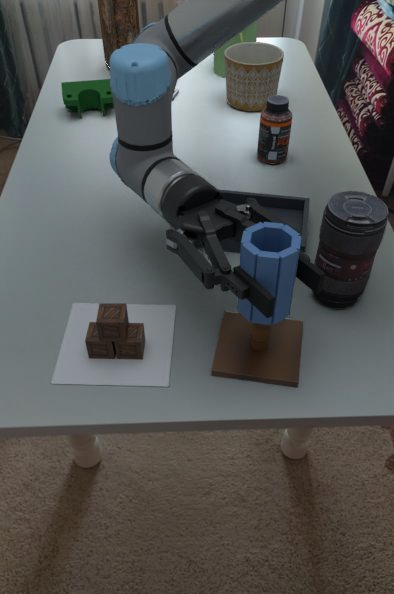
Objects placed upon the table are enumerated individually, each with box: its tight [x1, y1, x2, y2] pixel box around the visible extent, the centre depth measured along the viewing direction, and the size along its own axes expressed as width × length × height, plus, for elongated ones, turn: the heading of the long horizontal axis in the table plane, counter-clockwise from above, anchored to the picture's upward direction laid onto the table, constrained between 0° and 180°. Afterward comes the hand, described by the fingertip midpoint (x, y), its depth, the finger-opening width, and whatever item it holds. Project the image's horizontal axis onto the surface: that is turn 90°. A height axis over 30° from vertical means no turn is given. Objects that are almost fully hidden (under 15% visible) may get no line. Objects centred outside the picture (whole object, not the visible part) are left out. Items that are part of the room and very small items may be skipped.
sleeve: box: [236, 222, 301, 325], centre depth 64 cm, size 6×6×10 cm
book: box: [96, 0, 141, 73], centre depth 125 cm, size 16×6×25 cm, turn 21°
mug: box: [212, 20, 259, 79], centre depth 131 cm, size 13×10×12 cm
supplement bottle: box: [256, 94, 293, 165], centre depth 103 cm, size 6×6×11 cm
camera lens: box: [312, 190, 389, 310], centre depth 75 cm, size 8×8×15 cm
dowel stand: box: [210, 311, 304, 388], centre depth 70 cm, size 11×11×10 cm
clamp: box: [60, 78, 114, 119], centre depth 119 cm, size 12×6×9 cm, turn 94°
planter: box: [224, 41, 285, 112], centre depth 120 cm, size 13×13×10 cm
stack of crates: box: [50, 302, 177, 388], centre depth 72 cm, size 15×15×7 cm
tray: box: [192, 188, 311, 254], centre depth 91 cm, size 18×14×3 cm
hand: (296, 295), depth 60 cm, fingers closed on sleeve, 6 cm apart
